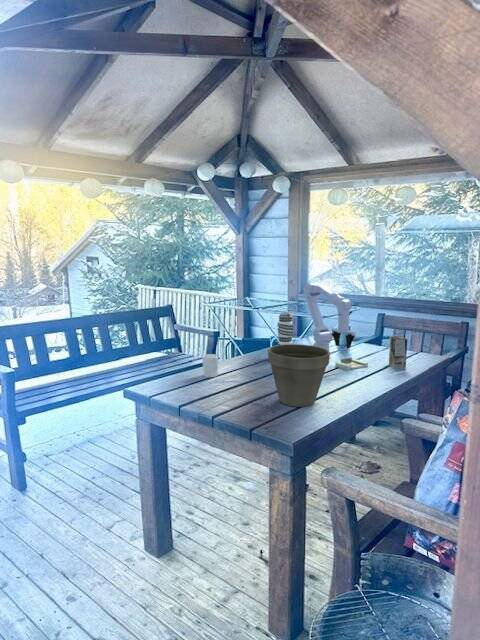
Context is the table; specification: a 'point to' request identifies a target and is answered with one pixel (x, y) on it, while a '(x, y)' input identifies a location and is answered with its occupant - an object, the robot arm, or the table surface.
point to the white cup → (210, 365)
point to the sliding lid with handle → (352, 363)
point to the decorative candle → (285, 329)
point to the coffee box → (398, 352)
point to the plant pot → (298, 372)
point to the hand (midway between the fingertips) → (342, 346)
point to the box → (347, 367)
